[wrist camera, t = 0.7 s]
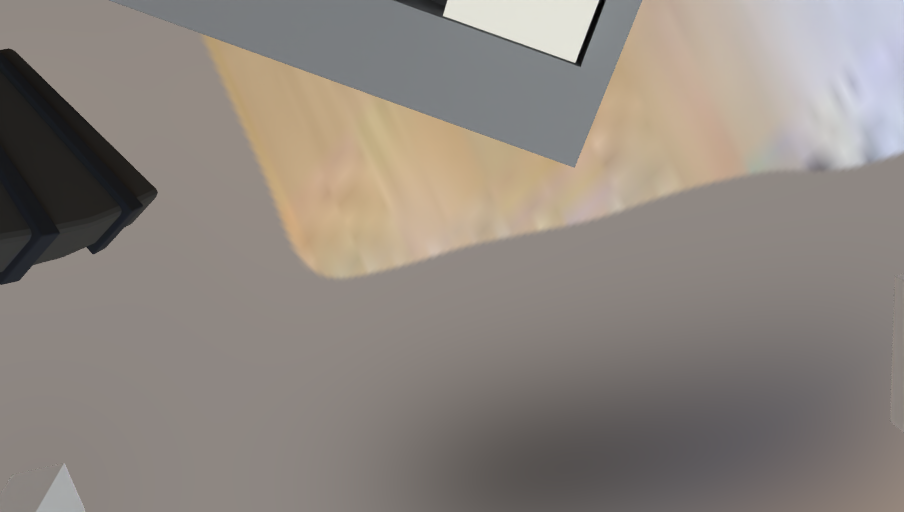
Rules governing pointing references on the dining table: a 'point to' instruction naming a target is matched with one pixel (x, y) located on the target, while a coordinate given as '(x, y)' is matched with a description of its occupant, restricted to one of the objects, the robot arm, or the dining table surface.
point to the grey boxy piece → (428, 61)
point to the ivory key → (530, 22)
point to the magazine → (56, 176)
